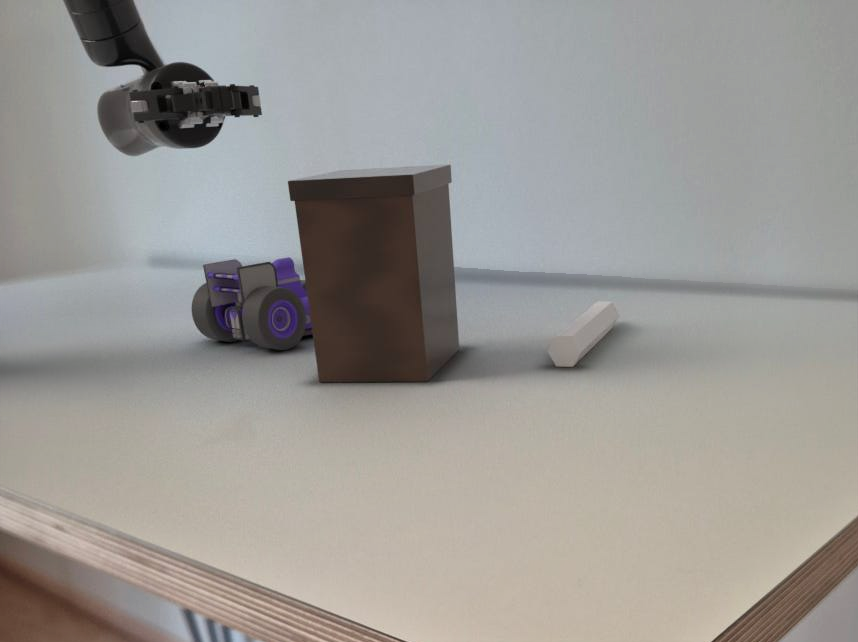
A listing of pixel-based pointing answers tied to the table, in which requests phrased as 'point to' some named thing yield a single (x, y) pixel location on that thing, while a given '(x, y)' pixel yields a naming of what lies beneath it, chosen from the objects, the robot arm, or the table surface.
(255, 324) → the toy race car
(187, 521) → the table surface
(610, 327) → the grey hexagonal bar
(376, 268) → the brown lidded box
